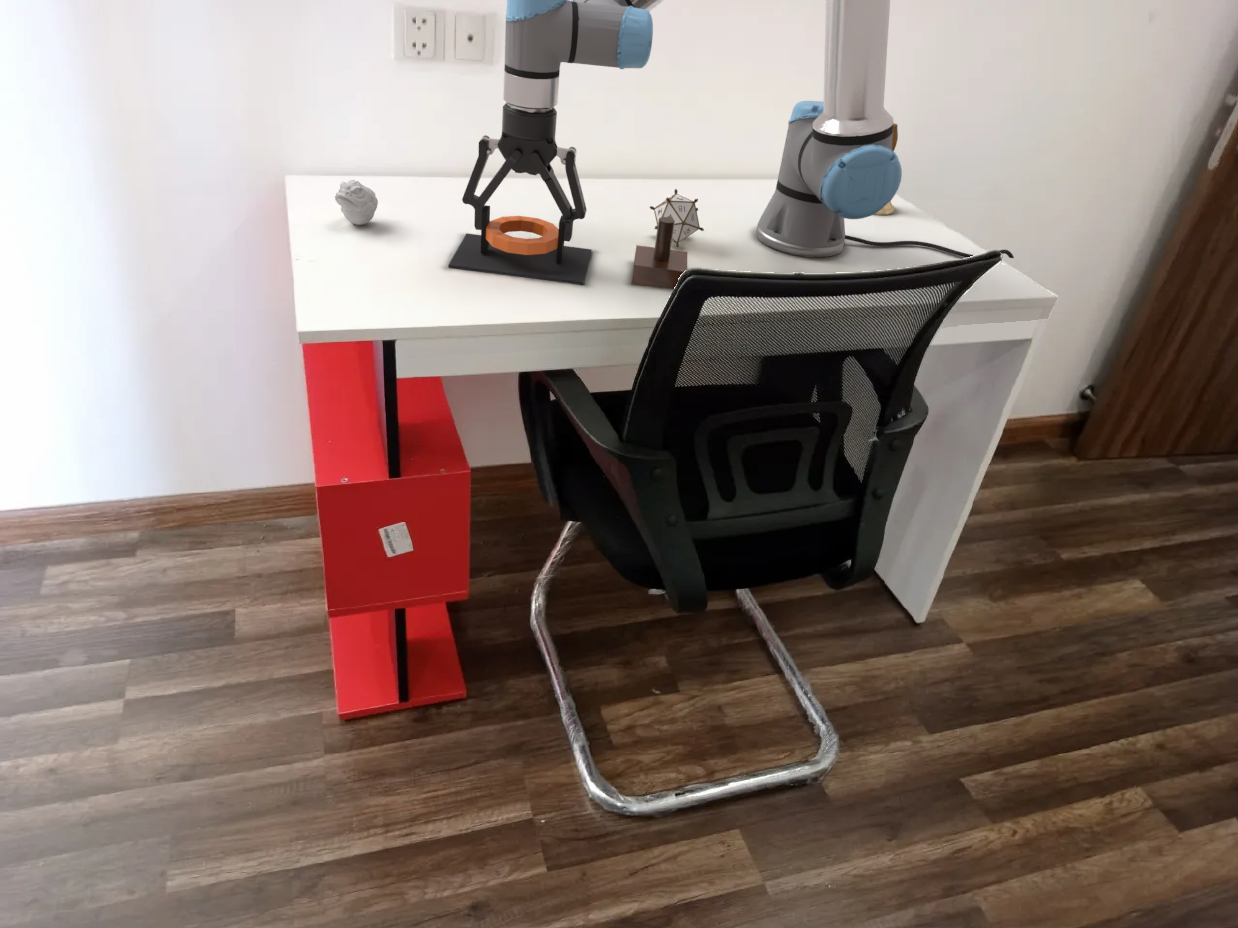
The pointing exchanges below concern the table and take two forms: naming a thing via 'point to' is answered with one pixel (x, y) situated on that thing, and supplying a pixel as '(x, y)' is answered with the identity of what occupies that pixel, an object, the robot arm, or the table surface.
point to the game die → (679, 216)
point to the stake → (659, 259)
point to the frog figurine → (356, 202)
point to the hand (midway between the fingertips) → (522, 255)
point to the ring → (522, 245)
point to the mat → (522, 262)
